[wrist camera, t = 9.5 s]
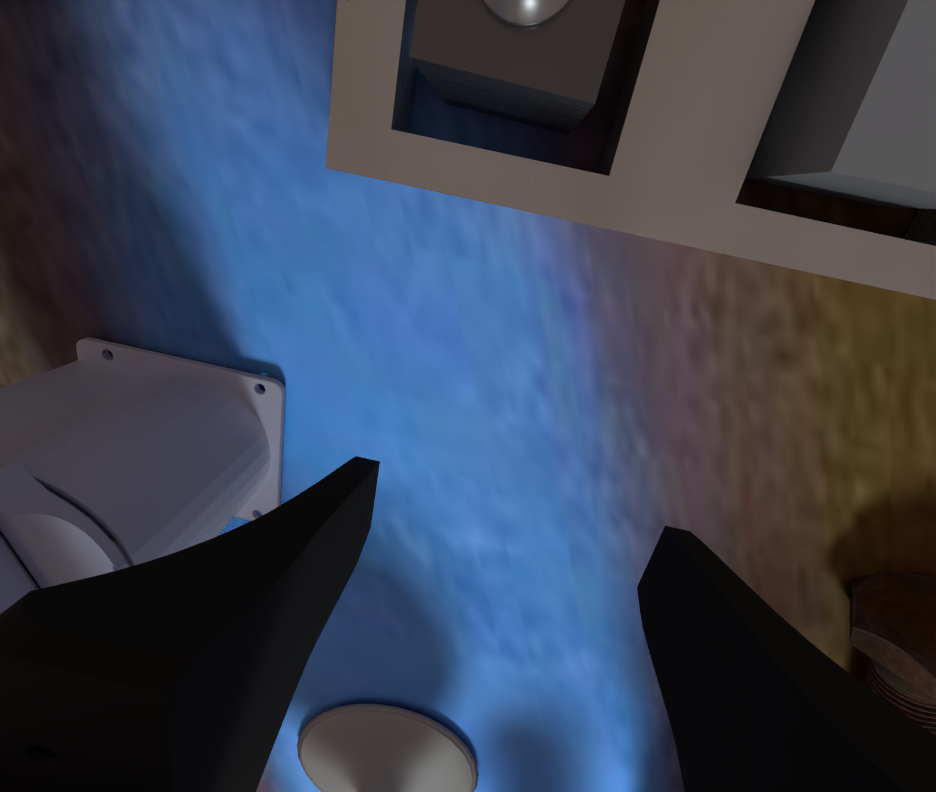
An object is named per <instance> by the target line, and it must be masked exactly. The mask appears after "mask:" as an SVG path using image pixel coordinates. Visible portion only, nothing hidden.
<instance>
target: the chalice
mask: <svg viewBox="0 0 936 792" xmlns="http://www.w3.org/2000/svg"><path fill="white" fill-rule="evenodd" d="M297 747H298V757H299V760H300V762H301V764H302V767H303V769H304V771H305V773H306V775H307V776H308V777H309V779H310V780H311V781H312V782H313V784H314V785H315V786H316V787H317V788H318V789H319V790H321V791H322V792H474V790H475V789H476V787H477V781H478V770H477V765H476V761H475V759H474V757H473V755H472V754H471V752H470V750H469V748H468V747H467V746H466V745H465V744H464V743H463V742H462V741H461V740H460V739H459V737H458V736H457V735H456V734H454V733H453V732H451V731H450V730H449V729H447V728H446V727H444V726H443V725H442V724H440V723H438V722H436V721H434V720H432V719H430V718H428V717H426V716H424V715H422V714H419V713H416V712H413V711H410V710H406V709H403V708H400V707H394V706H388V705H382V704H352V705H346V706H340V707H336V708H333V709H330V710H328V711H325V712H323V713H320V714H319V715H318V716H316V717H315V718H313V719H312V720H310V721H309V722H308V723H307V725H306V726H305V727H304V729H303V730H302V731H301V733H300V737H299V740H298V744H297Z"/></svg>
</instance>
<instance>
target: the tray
mask: <svg viewBox="0 0 936 792" xmlns="http://www.w3.org/2000/svg"><path fill="white" fill-rule="evenodd" d="M417 2H418V0H337V11H336V25H335V40H334V55H333V70H332V85H331V99H330V114H329V129H328V144H327V159H326V168H329V169H333V170H338V171H343V172H347V173H352V174H357V175H361V176H366V177H370V178H375V179H380V180H384V181H389V182H394V183H398V184H403V185H407V186H412V187H417V188H421V189H426V190H431V191H435V192H440V193H445V194H449V195H454V196H458V197H463V198H468V199H472V200H477V201H482V202H486V203H491V204H495V205H500V206H505V207H509V208H514V209H519V210H523V211H528V212H532V213H537V214H542V215H546V216H551V217H556V218H560V219H565V220H569V221H574V222H579V223H583V224H588V225H593V226H597V227H602V228H607V229H611V230H616V231H620V232H625V233H630V234H634V235H639V236H644V237H648V238H653V239H657V240H662V241H667V242H671V243H676V244H681V245H685V246H690V247H694V248H699V249H704V250H708V251H713V252H718V253H722V254H727V255H732V256H736V257H741V258H745V259H750V260H755V261H759V262H764V263H769V264H773V265H778V266H782V267H787V268H792V269H796V270H801V271H806V272H810V273H815V274H819V275H824V276H829V277H833V278H838V279H843V280H847V281H852V282H856V283H861V284H866V285H870V286H875V287H880V288H884V289H889V290H894V291H898V292H903V293H907V294H912V295H917V296H921V297H926V298H931V299H935V300H936V209H919V210H918V212H917V214H916V216H915V218H914V219H913V221H912V223H911V225H910V227H909V229H908V230H907V232H906V234H905V236H904V238H903V239H900V238H896V237H891V236H886V235H882V234H877V233H872V232H868V231H863V230H858V229H854V228H849V227H844V226H840V225H835V224H830V223H826V222H821V221H816V220H812V219H807V218H802V217H798V216H793V215H788V214H784V213H779V212H774V211H770V210H765V209H760V208H756V207H751V206H746V205H742V204H737V203H735V202H736V199H737V197H738V194H739V192H740V189H741V187H742V184H743V182H744V179H745V177H746V174H747V172H748V169H749V167H750V164H751V161H752V159H753V156H754V154H755V151H756V149H757V146H758V144H759V141H760V139H761V136H762V134H763V131H764V129H765V126H766V123H767V121H768V118H769V116H770V113H771V111H772V108H773V106H774V103H775V101H776V98H777V96H778V93H779V91H780V88H781V86H782V83H783V80H784V78H785V75H786V73H787V70H788V68H789V65H790V63H791V60H792V58H793V55H794V53H795V50H796V48H797V45H798V43H799V40H800V37H801V35H802V32H803V30H804V27H805V25H806V22H807V20H808V17H809V15H810V12H811V10H812V7H813V5H814V2H815V0H647V4H646V7H645V11H644V14H643V18H642V22H641V25H640V29H639V32H638V36H637V39H636V43H635V47H634V50H633V54H632V57H631V61H630V64H629V68H628V72H627V75H626V79H625V82H624V86H623V89H622V93H621V97H620V100H619V104H618V107H617V111H616V114H615V118H614V122H613V125H612V129H611V132H610V136H609V139H608V143H607V147H606V150H605V154H604V157H603V161H602V164H601V168H600V171H599V174H597V173H593V172H588V171H583V170H579V169H574V168H569V167H565V166H560V165H555V164H551V163H546V162H541V161H537V160H532V159H527V158H523V157H518V156H513V155H509V154H504V153H499V152H495V151H490V150H485V149H481V148H476V147H471V146H467V145H462V144H457V143H453V142H448V141H443V140H439V139H434V138H429V137H425V136H420V135H415V134H411V133H408V131H409V124H410V116H411V108H412V100H413V92H414V84H415V77H416V69H417V66H416V65H415V63H414V62H413V61H412V59H411V58H410V57H409V55H410V49H411V42H412V35H413V29H414V22H415V15H416V9H417Z"/></svg>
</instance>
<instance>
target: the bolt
mask: <svg viewBox="0 0 936 792" xmlns="http://www.w3.org/2000/svg"><path fill="white" fill-rule="evenodd" d="M850 644H851V645H853V646H854V647H856V648H857V649H859V650H860V651H862V652H863V653H865V654H866V655H868V656H869V662H868V665H867V673H866V676H865V682H864V685H865V686H866V687H867V688H869V689H870V690H871V691H873V692H874V693H875V694H877V695H878V696H880V697H881V698H882V699H884V700H885V701H887V702H888V703H889V704H891V705H892V706H894V707H895V708H897V709H898V710H899V711H901V712H902V713H904V714H905V715H906V716H908V717H909V718H911V719H912V720H914V721H915V722H916V723H918V724H919V725H921V726H922V727H924V728H925V729H927V730H928V731H930V732H931V733H933V734H934V735H936V578H934V577H930V576H925V575H920V574H915V573H908V572H906V573H893V574H878V575H872V576H868V577H864V578H861V579H858V580H855V581H853V583H852V589H851V595H850Z"/></svg>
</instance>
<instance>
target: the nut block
mask: <svg viewBox="0 0 936 792" xmlns="http://www.w3.org/2000/svg"><path fill="white" fill-rule="evenodd" d="M624 4H625V0H418V2H417V9H416V15H415V22H414V29H413V35H412V42H411V49H410V55H409V57H410V58H411V59H412V61H413V62H414V63H415V65H416V66H417V67H418V68H419V70H420V71H421V72H422V73H423V75H424V76H425V77H426V79H427V80H428V81H429V82H430V84H431V85H432V86H433V87H434V89H435V90H436V91H437V93H438V94H439V95H440V96H441V98H442V99H443V100H444V101H445V103H447V104H451V105H455V106H459V107H463V108H467V109H471V110H475V111H478V112H482V113H486V114H490V115H494V116H498V117H502V118H506V119H510V120H514V121H518V122H522V123H526V124H530V125H533V126H537V127H541V128H545V129H549V130H553V131H557V132H561V133H565V134H569V135H570V134H571V133H572V132H573V131H574V129H575V128H576V127H577V126H578V124H579V123H580V122H581V121H582V119H583V118H584V117H585V116H586V114H587V113H588V112H589V111H590V109H591V108H592V107H593V106H594V105H595V102H596V99H597V95H598V92H599V89H600V85H601V82H602V78H603V75H604V72H605V68H606V65H607V61H608V58H609V55H610V51H611V48H612V44H613V41H614V38H615V34H616V31H617V27H618V24H619V21H620V17H621V14H622V10H623V7H624Z"/></svg>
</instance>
